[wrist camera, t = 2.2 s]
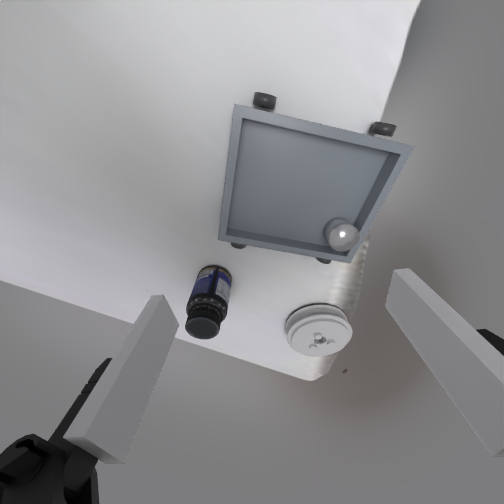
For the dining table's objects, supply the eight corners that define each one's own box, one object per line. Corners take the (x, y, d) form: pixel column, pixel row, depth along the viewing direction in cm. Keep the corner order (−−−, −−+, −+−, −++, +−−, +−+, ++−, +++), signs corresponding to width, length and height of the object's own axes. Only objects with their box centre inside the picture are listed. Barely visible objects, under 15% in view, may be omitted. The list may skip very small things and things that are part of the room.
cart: (220, 237, 33) (216, 248, 30) (239, 90, 23) (236, 85, 20) (338, 258, 35) (345, 271, 32) (403, 129, 25) (423, 130, 22)
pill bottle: (197, 287, 39) (178, 339, 29) (199, 261, 35) (179, 310, 26) (229, 292, 39) (221, 345, 30) (234, 267, 36) (227, 318, 27)
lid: (350, 332, 45) (359, 354, 41) (295, 345, 48) (298, 366, 44) (339, 293, 39) (349, 314, 35) (276, 311, 42) (278, 332, 38)
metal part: (319, 238, 31) (324, 248, 29) (329, 214, 29) (336, 223, 27) (343, 243, 32) (351, 253, 29) (355, 219, 30) (365, 228, 27)
